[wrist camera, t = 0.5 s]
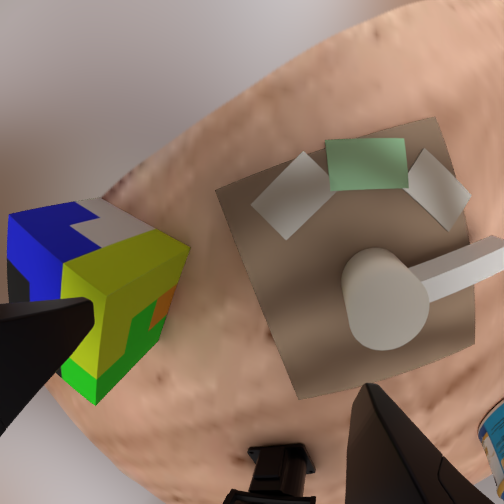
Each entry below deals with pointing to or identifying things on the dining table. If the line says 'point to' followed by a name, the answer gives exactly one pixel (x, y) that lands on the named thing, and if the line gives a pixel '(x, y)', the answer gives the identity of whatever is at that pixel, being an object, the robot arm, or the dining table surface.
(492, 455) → the beverage bottle
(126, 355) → the puzzle toy
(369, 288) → the lever
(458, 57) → the dining table surface
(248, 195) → the board
